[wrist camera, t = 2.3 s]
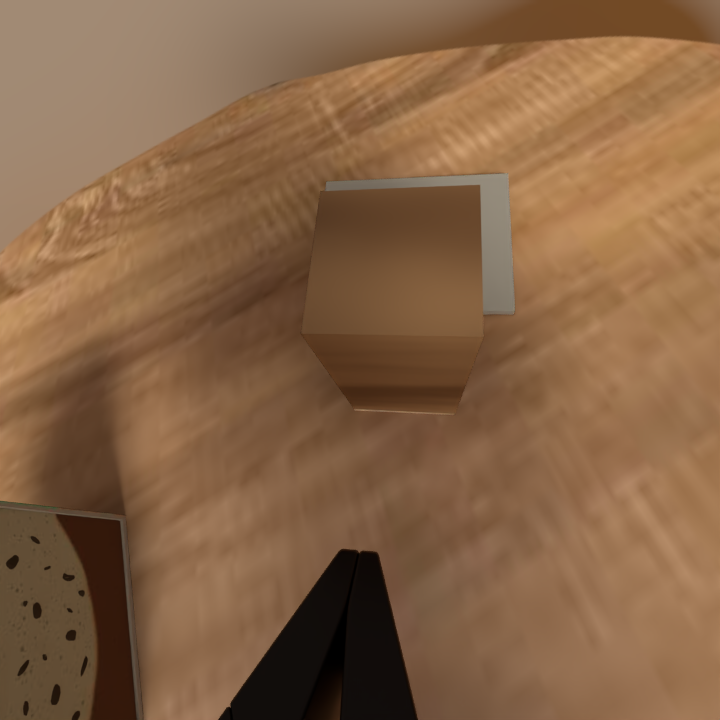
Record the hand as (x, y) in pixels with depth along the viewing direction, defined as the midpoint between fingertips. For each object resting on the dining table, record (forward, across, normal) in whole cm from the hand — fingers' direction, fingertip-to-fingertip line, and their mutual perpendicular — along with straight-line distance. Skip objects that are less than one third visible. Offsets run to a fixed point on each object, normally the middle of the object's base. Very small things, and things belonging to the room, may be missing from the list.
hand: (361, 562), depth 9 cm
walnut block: (+13, 0, +2) cm, 13 cm away
